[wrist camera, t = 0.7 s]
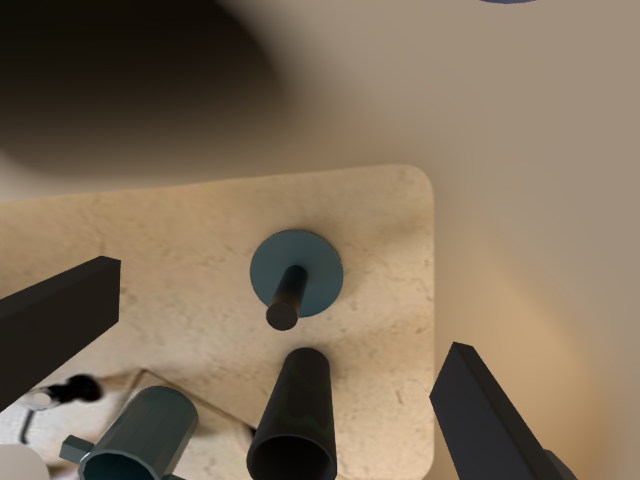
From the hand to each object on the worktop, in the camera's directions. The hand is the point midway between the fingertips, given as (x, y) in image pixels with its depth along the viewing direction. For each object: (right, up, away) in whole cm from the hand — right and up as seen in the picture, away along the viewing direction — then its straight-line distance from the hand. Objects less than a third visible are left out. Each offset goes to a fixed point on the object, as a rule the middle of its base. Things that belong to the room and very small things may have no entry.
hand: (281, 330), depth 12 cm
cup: (0, -12, +25) cm, 27 cm away
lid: (-1, 0, +20) cm, 20 cm away
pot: (-19, -20, +28) cm, 40 cm away
